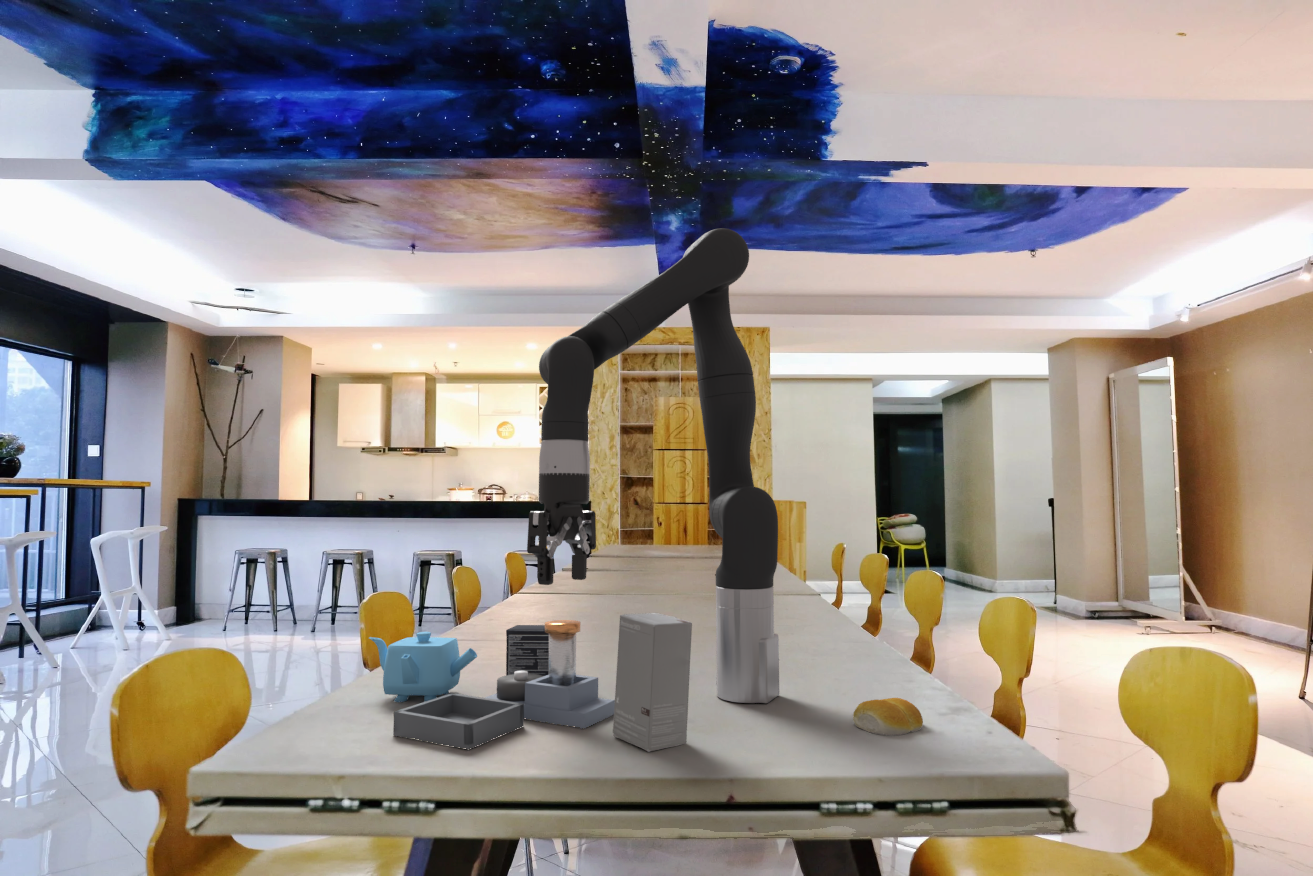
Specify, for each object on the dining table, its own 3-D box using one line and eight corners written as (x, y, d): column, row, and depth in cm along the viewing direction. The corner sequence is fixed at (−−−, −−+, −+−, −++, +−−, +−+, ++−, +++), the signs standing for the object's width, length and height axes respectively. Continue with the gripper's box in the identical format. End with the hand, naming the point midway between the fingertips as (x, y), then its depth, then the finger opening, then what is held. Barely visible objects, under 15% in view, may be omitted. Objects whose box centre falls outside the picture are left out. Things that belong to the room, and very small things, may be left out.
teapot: (488, 688, 124) (489, 626, 125) (458, 711, 110) (459, 642, 111) (384, 686, 125) (386, 625, 126) (342, 708, 112) (344, 640, 112)
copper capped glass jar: (586, 699, 109) (587, 621, 110) (566, 707, 104) (567, 626, 105) (557, 695, 111) (558, 619, 112) (536, 703, 107) (537, 624, 108)
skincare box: (611, 737, 97) (611, 614, 99) (655, 727, 102) (655, 610, 103) (649, 754, 91) (649, 622, 92) (694, 743, 95) (693, 617, 96)
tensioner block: (614, 714, 108) (614, 676, 108) (584, 729, 101) (584, 688, 101) (516, 699, 116) (516, 664, 117) (481, 712, 109) (482, 674, 110)
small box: (577, 687, 124) (577, 623, 125) (569, 697, 118) (569, 630, 119) (515, 686, 125) (516, 623, 126) (504, 696, 119) (505, 629, 120)
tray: (523, 727, 102) (523, 703, 102) (468, 750, 92) (469, 724, 93) (451, 714, 108) (452, 693, 108) (393, 735, 98) (393, 711, 99)
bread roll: (934, 729, 101) (933, 699, 101) (890, 741, 96) (889, 709, 96) (885, 715, 108) (884, 687, 108) (842, 725, 103) (841, 695, 103)
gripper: (557, 469, 103) (555, 588, 101) (610, 473, 115) (609, 579, 114) (514, 470, 106) (511, 585, 105) (570, 474, 119) (569, 576, 117)
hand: (562, 582), depth 109 cm, fingers open, 8 cm apart
